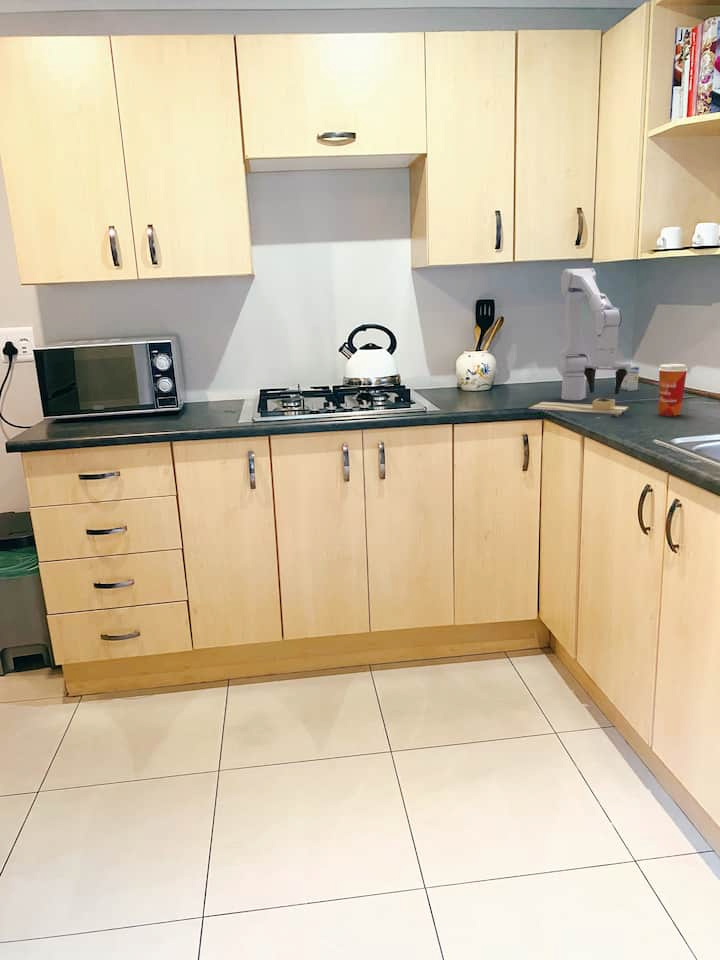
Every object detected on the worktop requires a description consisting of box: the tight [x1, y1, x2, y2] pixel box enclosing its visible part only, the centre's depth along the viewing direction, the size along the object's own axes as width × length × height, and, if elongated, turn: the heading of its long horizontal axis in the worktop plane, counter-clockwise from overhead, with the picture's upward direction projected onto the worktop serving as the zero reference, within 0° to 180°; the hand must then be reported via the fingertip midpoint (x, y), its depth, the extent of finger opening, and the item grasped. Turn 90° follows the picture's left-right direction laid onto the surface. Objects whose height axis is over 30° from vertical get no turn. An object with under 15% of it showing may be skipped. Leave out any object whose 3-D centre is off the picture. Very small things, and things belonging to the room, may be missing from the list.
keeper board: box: [529, 397, 629, 417], centre depth 230 cm, size 14×28×4 cm, turn 57°
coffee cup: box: [658, 363, 689, 417], centre depth 217 cm, size 8×8×15 cm
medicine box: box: [614, 365, 640, 392], centre depth 269 cm, size 8×4×9 cm, turn 17°
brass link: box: [592, 398, 616, 411], centre depth 226 cm, size 6×6×3 cm
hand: (604, 393), depth 225 cm, fingers open, 7 cm apart
